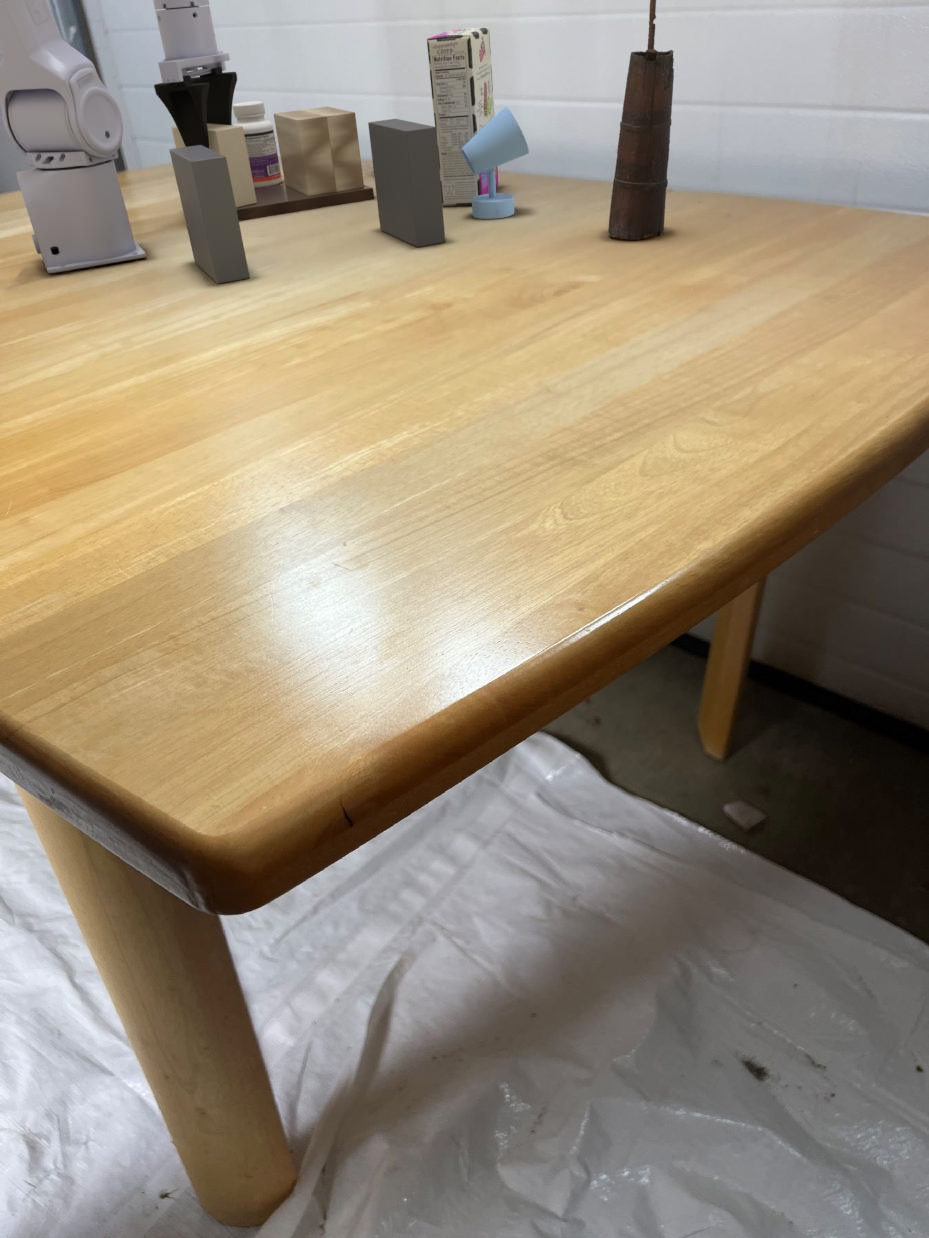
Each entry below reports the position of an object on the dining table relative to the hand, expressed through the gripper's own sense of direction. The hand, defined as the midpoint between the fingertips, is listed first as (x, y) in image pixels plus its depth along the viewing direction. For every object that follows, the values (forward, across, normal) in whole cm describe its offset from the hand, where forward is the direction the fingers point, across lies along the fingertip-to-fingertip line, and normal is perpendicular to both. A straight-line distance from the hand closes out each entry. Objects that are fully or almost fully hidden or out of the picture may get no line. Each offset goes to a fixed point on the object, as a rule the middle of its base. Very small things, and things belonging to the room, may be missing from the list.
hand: (211, 149), depth 107 cm
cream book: (+6, 0, 0) cm, 6 cm away
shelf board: (+7, +4, -6) cm, 10 cm away
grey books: (+7, -22, -18) cm, 29 cm away
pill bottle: (+7, +18, +1) cm, 20 cm away
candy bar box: (+7, +2, -30) cm, 30 cm away
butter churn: (+7, -22, -48) cm, 53 cm away
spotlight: (+7, -8, -34) cm, 35 cm away
